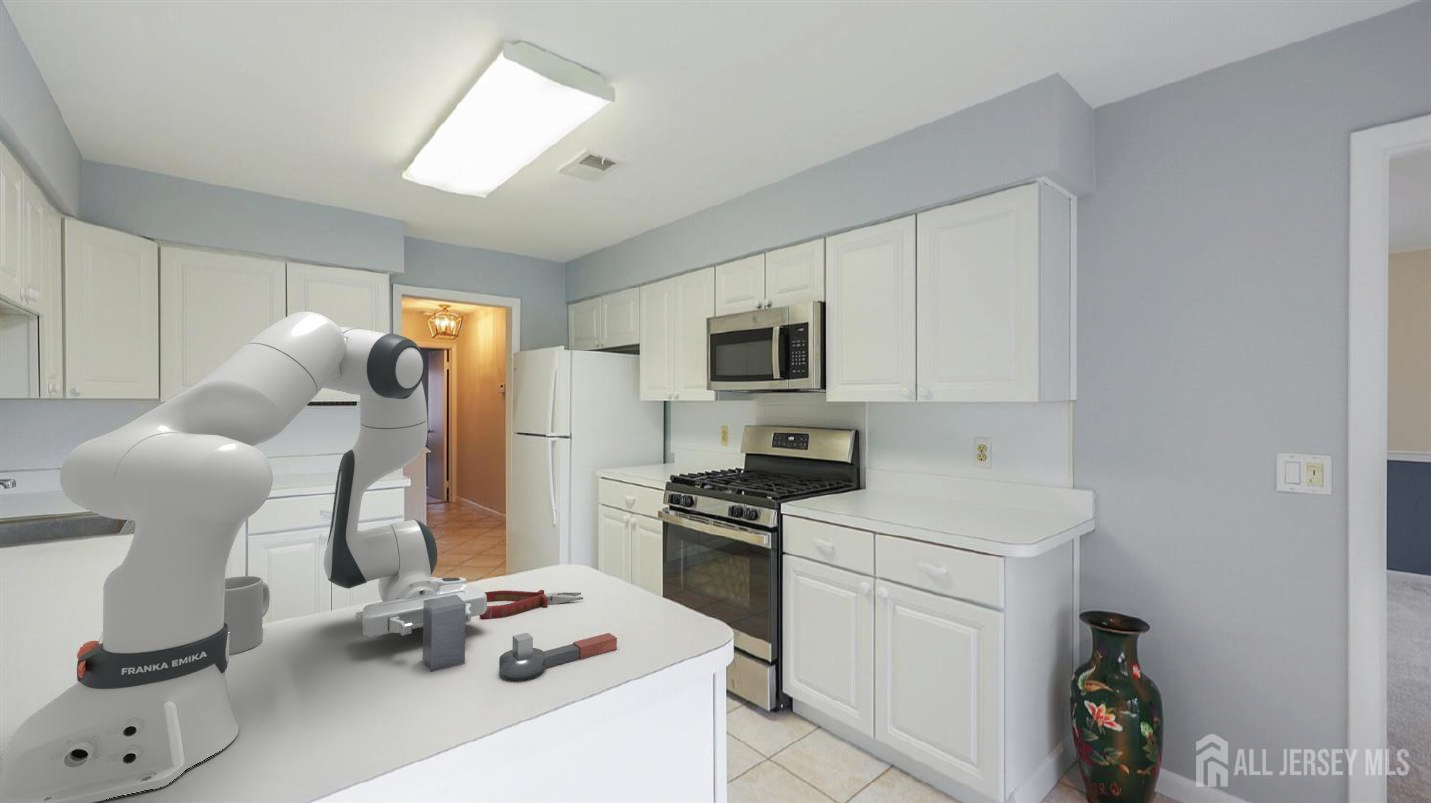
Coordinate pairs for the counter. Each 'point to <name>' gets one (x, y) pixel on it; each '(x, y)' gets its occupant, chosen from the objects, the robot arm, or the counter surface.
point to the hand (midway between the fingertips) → (437, 623)
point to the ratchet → (547, 655)
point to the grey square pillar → (444, 632)
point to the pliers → (523, 601)
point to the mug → (245, 611)
